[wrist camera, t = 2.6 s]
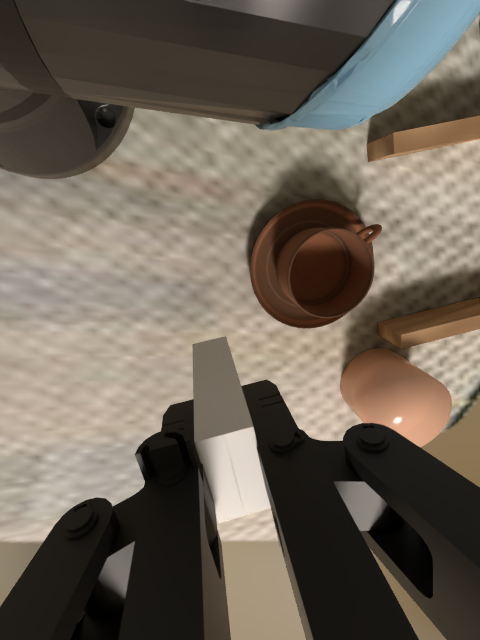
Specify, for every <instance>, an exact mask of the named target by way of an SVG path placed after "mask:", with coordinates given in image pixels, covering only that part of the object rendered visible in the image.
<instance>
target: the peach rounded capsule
mask: <svg viewBox="0 0 480 640" xmlns="http://www.w3.org/2000/svg"><path fill="white" fill-rule="evenodd" d="M340 390H341V394H342V397H343V399H344V400H345V402H346V403H347V404H348V405H349V406H350V408H351V409H352V410H353V411H354V412H355V414H356V415H357V416H358V417H359V418H360V419H361V421H362V422H363V423H376V424H381V425H385V426H387V427H389V428H391V429H393V430H395V431H396V432H398V433H399V434H401V435H402V436H404V437H405V438H407V439H408V440H410V441H411V442H413V443H414V444H416V445H417V446H419V447H421V446H423V445H425V444H427V443H428V442H430V441H431V440H432V439H434V438H435V437H436V436H437V435H438V434H439V433H440V432H441V431H442V429H443V428H444V426H445V425H446V423H447V421H448V419H449V416H450V413H451V407H452V401H451V396H450V393H449V391H448V390H447V388H446V387H445V386H444V385H443V384H442V383H441V382H439V381H438V380H436V379H435V378H433V377H432V376H430V375H429V374H427V373H426V372H424V371H422V370H421V369H419V368H418V367H416V366H415V365H413V364H412V363H410V362H409V361H407V360H406V359H404V358H403V357H401V356H399V355H398V354H396V353H395V352H393V351H391V350H388V349H384V348H375V349H370V350H367V351H365V352H363V353H361V354H359V355H358V356H356V357H355V358H354V359H353V360H352V361H351V362H350V363H349V364H348V365H347V367H346V368H345V370H344V372H343V374H342V377H341V382H340Z"/></svg>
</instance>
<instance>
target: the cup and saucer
mask: <svg viewBox="0 0 480 640" xmlns="http://www.w3.org/2000/svg"><path fill="white" fill-rule="evenodd" d="M381 230H382V227H381V225H379V224H374V225H371V226H368V227H365V226H364V224H363V223H362V221H361V220H360V219H359V218H358V216H357V215H356V214H354V213H353V212H352V211H351V210H350V209H348V208H347V207H345V206H343V205H341V204H339V203H336V202H333V201H329V200H322V199H314V200H306V201H301V202H298V203H295V204H293V205H291V206H289V207H287V208H285V209H283V210H282V211H280V212H279V213H278V214H276V215H275V216H274V217H273V218H272V219H271V220H270V221H269V222H268V223H267V224H266V226H265V227H264V228H263V230H262V231H261V233H260V235H259V236H258V238H257V241H256V243H255V245H254V248H253V252H252V256H251V262H250V277H251V283H252V287H253V290H254V293H255V295H256V297H257V299H258V301H259V303H260V304H261V306H262V307H263V308H264V309H265V311H266V312H267V313H268V314H270V315H271V316H272V317H273V318H275V319H276V320H278V321H279V322H281V323H283V324H286V325H289V326H292V327H297V328H316V327H321V326H325V325H328V324H330V323H332V322H334V321H336V320H338V319H340V318H341V317H343V316H344V315H345V314H347V313H348V312H349V311H351V310H352V309H354V308H355V307H356V306H357V305H358V304H359V303H360V302H361V301H362V300H363V299H364V298H365V296H366V295H367V293H368V291H369V289H370V287H371V284H372V281H373V277H374V258H373V246H372V242H371V241H372V240H374V239H375V238H376V237H377V236H378V235H379V234H380V232H381ZM371 231H373V232H372V233H371V234H370V235H369V233H368V232H371Z"/></svg>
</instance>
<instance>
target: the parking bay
mask: <svg viewBox="0 0 480 640" xmlns="http://www.w3.org/2000/svg"><path fill="white" fill-rule="evenodd" d="M477 139H480V116H475V117H470V118H465V119H460V120H455V121H450V122H445V123H440V124H435V125H430V126H425V127H420V128H414V129H409V130H404V131H399V132H394V133H392V134H389V135H387V136H385V137H382V138H380V139H378V140H375V141H373V142H371V143H368V144H367V151H368V162H370V161H375V160H380V159H385V158H390V157H395V156H400V155H404V154H409V153H414V152H419V151H424V150H429V149H434V148H438V147H443V146H448V145H453V144H458V143H463V142H468V141H473V140H477ZM378 329H379V335H380V336H381V337H383V338H385V339H386V340H388V341H389V342H391V343H393V344H394V345H396V346H398V347H399V348H401V349H403V348H407V347H411V346H415V345H419V344H423V343H427V342H431V341H434V340H438V339H442V338H446V337H450V336H454V335H458V334H462V333H466V332H470V331H474V330H477V329H480V297H479V298H475V299H471V300H467V301H462V302H458V303H454V304H450V305H446V306H442V307H438V308H434V309H430V310H426V311H422V312H418V313H414V314H410V315H406V316H402V317H398V318H394V319H390V320H386V321H382V322H378Z"/></svg>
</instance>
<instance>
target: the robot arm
mask: <svg viewBox="0 0 480 640" xmlns="http://www.w3.org/2000/svg"><path fill="white" fill-rule="evenodd" d="M479 13H480V0H0V168H1V169H4V170H7V171H10V172H14V173H18V174H21V175H25V176H30V177H35V178H44V179H57V178H66V177H71V176H75V175H78V174H81V173H84V172H86V171H89V170H90V169H92V168H94V167H96V166H97V165H99V164H100V163H102V162H103V161H104V160H106V159H107V158H108V157H109V156H110V155H111V154H112V153H113V152H114V150H115V149H116V148H117V147H118V145H119V144H120V143H121V141H122V139H123V138H124V136H125V134H126V132H127V130H128V128H129V125H130V122H131V120H132V116H133V112H134V108H135V107H136V108H143V109H150V110H157V111H164V112H171V113H178V114H185V115H192V116H199V117H206V118H214V119H221V120H228V121H235V122H242V123H249V124H254V125H256V126H257V127H258V128H259V129H262V130H271V131H273V130H279V129H283V128H285V127H287V126H289V127H302V128H315V129H329V130H338V129H345V128H350V127H353V126H357V125H359V124H362V123H363V122H365V121H366V120H368V119H369V118H371V117H372V116H373V115H375V114H377V113H380V112H382V111H383V110H386V109H388V108H390V107H391V106H393V105H394V104H396V103H397V102H398V101H399V100H401V99H402V98H403V97H404V96H405V95H407V94H408V93H409V92H410V91H411V90H412V89H413V88H414V87H416V86H417V85H418V84H419V83H420V82H421V81H422V80H423V79H424V78H425V77H426V76H427V75H428V74H429V73H430V72H431V71H432V70H433V69H434V68H435V67H436V65H437V64H438V63H439V62H440V61H441V60H442V59H443V58H444V57H445V56H446V54H447V53H448V52H449V51H450V50H451V49H452V47H453V46H454V45H455V44H456V43H457V42H458V40H459V39H460V38H461V37H462V36H463V34H464V33H465V32H466V31H467V29H468V28H469V27H470V25H471V24H472V23H473V21H474V20H475V19H476V17H477V16H478V15H479ZM193 392H194V399H193V400H189V401H185V402H181V403H177V404H174V405H170V407H169V408H168V409H167V411H166V412H165V414H164V415H163V422H162V429H161V432H158V433H156V434H154V435H152V436H151V437H149V438H148V439H146V440H145V441H144V442H143V443H142V444H141V445H140V446H139V447H138V449H137V451H136V453H135V456H136V459H137V461H138V464H139V467H140V469H141V472H142V475H143V477H144V480H145V485H144V488H143V489H141V490H140V491H139V492H138V493H136V494H135V495H133V496H131V497H130V498H128V499H126V500H124V501H122V502H120V503H119V504H117V505H115V506H113V507H112V504H111V503H110V502H109V501H108V500H107V499H104V498H93V499H89V500H86V501H84V502H82V503H80V504H78V505H76V506H74V507H73V508H72V509H70V510H69V511H68V512H67V513H65V514H64V515H63V516H62V517H61V519H60V520H59V521H58V522H57V523H56V524H55V526H54V527H53V529H52V530H51V532H50V533H49V535H48V536H47V538H46V539H45V541H44V542H43V544H42V545H41V547H40V548H39V550H38V551H37V553H36V554H35V556H34V557H33V559H32V560H31V562H30V563H29V565H28V566H27V568H26V569H25V571H24V572H23V574H22V575H21V577H20V578H19V580H18V581H17V583H16V584H15V586H14V587H13V589H12V590H11V592H10V593H9V595H8V596H7V598H6V599H5V601H4V602H3V604H2V605H1V607H0V640H231V637H230V627H229V617H228V606H227V596H226V586H225V576H224V566H223V556H222V545H221V540H220V537H219V534H218V530H217V523H216V516H217V520H218V523H221V522H224V521H228V520H231V519H235V518H238V517H242V516H245V515H249V514H252V513H256V512H259V511H263V510H266V509H270V508H271V510H272V514H273V518H274V523H275V527H276V532H277V536H278V541H279V545H280V547H281V549H282V553H283V556H284V560H285V564H286V567H287V571H288V574H289V578H290V582H291V585H292V589H293V593H294V596H295V600H296V604H297V607H298V611H299V615H300V618H301V622H302V625H303V629H304V632H305V636H306V640H419V639H418V637H417V635H416V634H415V632H414V630H413V628H412V626H411V624H410V623H409V621H408V619H407V617H406V615H405V613H404V611H403V609H402V608H401V606H400V604H399V602H398V600H397V598H396V597H395V595H394V593H393V591H392V589H391V588H390V586H389V584H388V582H387V580H386V578H385V576H384V575H383V573H382V571H381V569H380V567H379V565H378V563H377V562H376V560H375V558H374V556H373V554H372V552H371V551H370V549H371V550H372V551H373V553H374V554H375V555H376V556H377V557H378V558H379V560H380V561H381V562H382V563H383V564H384V566H385V567H386V568H387V569H388V570H389V572H390V573H391V574H392V575H393V576H394V577H395V579H396V580H397V581H398V582H399V583H400V585H401V586H402V587H403V588H404V589H405V590H406V592H407V593H408V594H409V595H410V597H411V598H412V599H413V600H414V601H415V602H416V604H417V605H418V606H419V607H420V608H421V610H422V611H423V612H424V613H425V614H426V616H427V617H428V618H429V619H430V620H431V621H432V623H433V624H434V625H435V626H436V627H437V629H438V630H439V631H440V632H441V633H442V634H443V636H444V637H445V638H446V639H447V640H480V487H478V486H476V485H475V484H474V483H472V482H471V481H469V480H467V479H466V478H464V477H463V476H462V475H460V474H459V473H457V472H456V471H454V470H453V469H451V468H450V467H448V466H447V465H445V464H444V463H442V462H441V461H439V460H438V459H436V458H435V457H433V456H432V455H430V454H429V453H427V452H426V451H424V450H423V449H422V448H420V447H419V446H417V445H416V444H414V443H413V442H411V441H410V440H408V439H407V438H405V437H404V436H402V435H401V434H399V433H398V432H396V431H395V430H393V429H391V428H389V427H387V426H385V425H381V424H376V423H361V424H358V425H355V426H352V427H351V428H350V429H348V430H347V431H346V433H345V435H344V437H343V441H320V440H316V439H312V438H310V437H309V436H308V435H307V434H306V433H305V432H304V431H303V430H300V429H299V428H298V427H297V425H296V423H295V421H294V419H293V417H292V415H291V413H290V411H289V409H288V407H287V406H286V404H285V402H284V400H283V398H282V396H281V395H280V392H279V390H278V388H277V386H276V385H275V384H273V383H272V382H270V381H268V380H263V381H259V382H255V383H252V384H248V385H244V386H241V384H240V381H239V377H238V374H237V371H236V368H235V364H234V361H233V358H232V355H231V351H230V348H229V345H228V342H227V338H226V336H225V337H221V338H217V339H213V340H209V341H205V342H200V343H196V344H193ZM369 548H370V549H369Z"/></svg>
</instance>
